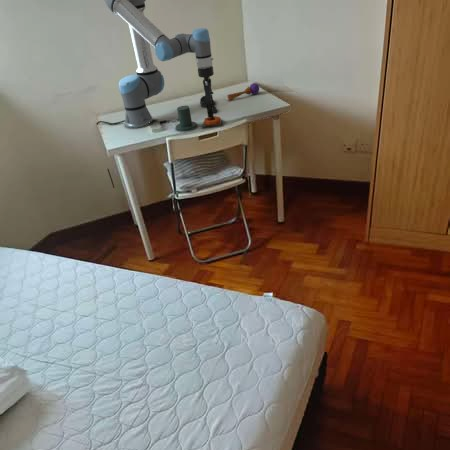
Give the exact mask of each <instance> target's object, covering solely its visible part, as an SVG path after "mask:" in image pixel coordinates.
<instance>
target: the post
mask: <svg viewBox="0 0 450 450" xmlns="http://www.w3.org/2000/svg"><path fill="white" fill-rule="evenodd" d="M208 101H210V100H208ZM211 102H212V100H211ZM212 109H213V107H212ZM214 116H215V115H214V114H213V117H210V121H212V120H214ZM216 127H217V128H219V127H222V118H221V117H220V122H219V123H217V124H212V125H208V124H205V122H204V121H203V129H209V128H216Z"/></svg>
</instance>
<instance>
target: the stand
mask: <svg viewBox="0 0 450 450" xmlns="http://www.w3.org/2000/svg"><path fill="white" fill-rule="evenodd" d="M176 110H177V117H178V121H179V123H177V124H176V126H175V130H176V131H178V132H189V131H191V130H195V129H196V128H197V127H198V123H197V122H196V121H192V114H191V109H190V106H189V105H180V106H177V108H176Z"/></svg>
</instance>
